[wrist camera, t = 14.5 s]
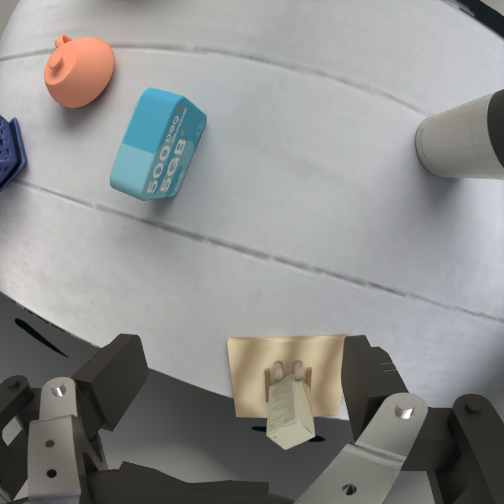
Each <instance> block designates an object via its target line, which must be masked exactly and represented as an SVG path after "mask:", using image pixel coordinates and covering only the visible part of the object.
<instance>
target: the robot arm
mask: <svg viewBox="0 0 504 504" xmlns="http://www.w3.org/2000/svg"><path fill="white" fill-rule="evenodd" d="M416 149H417V153H418V156H419V158H420V160H421V162H422V164H423V165H424V166H425V168H426V169H427V170H428V171H429V172H431V173H432V174H434V175H435V176H438V177H443V178H479V179H504V89H503V90H500V91H497V92H494V93H492V94H489V95H486V96H483V97H481V98H478V99H476V100H473V101H470V102H468V103H465V104H463V105H460V106H457V107H455V108H452V109H450V110H447V111H445V112H442V113H440V114H437V115H435V116H432V117H430V118H428V119H426V120H424V121H423V122H422V123H421V125H420V126H419V128H418V130H417V134H416ZM147 376H148V366H147V362H146V359H145V355H144V351H143V347H142V343H141V339H140V337H139V336H138V335H133V334H119V335H118V336H117V337H116V338H115V339H114V340H113V341H112V342H111V343H110V344H108V345H106V346H105V347H103V348H101V349H100V350H98V351H97V352H96V353H95V354H94V355H93V357H91V358H90V359H89V360H88V362H86V363H85V364H84V365H83V366H82V367H81V368H80V369H79V370H78V371H77V372H76V373H75V374H74V375H73V376H72V377H71V378H67V377H59V378H55V379H52V380H50V381H48V382H47V383H46V384H45V385H44V386H43V388H31V386H30V384H29V382H28V380H27V378H26V377H24V376H21V375H16V376H12V377H10V378H8V379H6V380H5V381H3V383H1V384H0V504H382V502H383V500H384V499H385V497H386V496H387V494H388V492H389V491H390V489H391V487H392V486H393V484H394V482H395V481H396V479H397V477H398V475H399V474H400V472H401V471H427V475H428V478H429V482H430V485H431V489H432V493H433V497H434V500H435V504H504V423H503V421H502V420H501V418H500V416H499V415H498V413H497V412H496V410H495V409H494V407H493V406H492V404H491V403H490V401H489V400H488V399H486V398H485V397H483V396H480V395H477V394H466V395H462V396H460V397H459V398H457V399H456V401H455V402H454V405H453V407H452V408H431V407H428V406H427V404H426V402H425V401H424V400H423V399H422V398H421V397H419V396H417V395H415V394H411V393H409V392H408V390H407V388H406V386H405V384H404V382H403V380H402V378H401V377H400V375H399V373H398V371H397V370H396V367H395V365H394V364H393V363H392V360H391V358H390V356H389V354H388V353H387V352H385V351H384V350H383V349H381V348H380V347H371V346H370V344H369V342H368V340H367V338H366V336H365V335H358V336H346V337H345V339H344V346H343V357H342V366H341V385H342V390H343V394H344V398H345V402H346V406H347V411H348V415H349V419H350V424H351V428H352V432H353V437H354V442H355V443H354V444H353V443H348V444H347V445H346V446H345V447H344V448H343V450H342V451H341V452H340V453H339V454H338V456H337V457H336V458H335V459H334V461H333V462H332V463H331V464H330V465H329V466H328V467H327V469H326V470H325V471H324V472H323V473H322V474H321V475H320V477H319V478H318V479H317V480H316V481H315V482H314V483H313V484H312V485H311V486H310V487H309V488H308V489H307V490H306V491H305V492H304V493H303V494H302V496H301V497H299V499H298V500H296V501H295V500H293V499H290V498H288V497H286V496H283V495H279V494H276V493H272V492H269V483H268V482H246V481H232V480H227V481H217V482H202V483H186V482H184V481H181V480H179V479H176V478H174V477H172V476H169V475H167V474H165V473H162V472H160V471H158V470H156V469H153V468H148V467H144V466H140V465H136V464H133V463H129V462H125V461H123V463H122V464H121V466H120V468H119V469H112V470H108V466H107V463H106V459H105V455H104V451H103V447H102V442H101V438H100V435H99V433H98V431H99V429H100V428H101V429H104V430H108V431H113V430H114V428H115V427H116V425H117V424H118V422H119V421H120V419H121V418H122V416H123V415H124V413H125V412H126V410H127V409H128V407H129V405H130V404H131V403H132V401H133V400H134V398H135V396H136V395H137V394H138V392H139V391H140V389H141V387H142V386H143V385H144V383H145V381H146V380H147ZM14 416H15V418H16V420H17V421H18V423H19V425H20V426H21V428H22V430H21V431H20V433H19V434H18V435H17V436H16V437H15V438H14V440H13V441H12V442H11V443H10V444H9V446H7V445H6V443H5V442H4V440H3V438H2V431H3V429H4V427H5V426H6V425H7V424H8V423H9V422H10V421H11V420H12V419H13V417H14ZM27 479H28V497H25V498H22V499H19V500H15V501H13V499H14V498H15V496H16V495H17V493H18V492H19V490H20V489H21V487H22V486H23V484H24V483H25V482H26V480H27Z"/></svg>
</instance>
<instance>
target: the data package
mask: <svg viewBox="0 0 504 504" xmlns="http://www.w3.org/2000/svg"><path fill="white" fill-rule="evenodd" d="M205 124H206V115H205V114H204V113H203V112H202V111H201V110H200V109H198V108H197V107H196V106H195V105H194V104H193V103H191V102H190V101H189V100H188V99H187V98H185V97H184V96H181V95H178V94H174V93H170V92H166V91H162V90H159V89H154V88H148V89H146V90H145V91H144V92H143V93H142V94H141V96H140V98H139V100H138V102H137V105H136V107H135V109H134V112H133V114H132V117H131V119H130V122H129V124H128V127H127V129H126V132H125V135H124V137H123V140H122V143H121V145H120V148H119V151H118V154H117V157H116V160H115V163H114V166H113V169H112V172H111V175H110V185H111V187H112V188H114V189H116V190H118V191H121V192H123V193H126V194H128V195H130V196H133V197H135V198H137V199H140V200H142V201H146V200H153V199H160V198H167V197H173V196H175V195H176V194H177V193H178V191H179V189H180V187H181V184H182V182H183V179H184V176H185V174H186V171H187V169H188V166H189V164H190V161H191V158H192V156H193V153H194V151H195V149H196V146H197V144H198V141H199V139H200V136H201V134H202V132H203V129H204V127H205Z"/></svg>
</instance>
